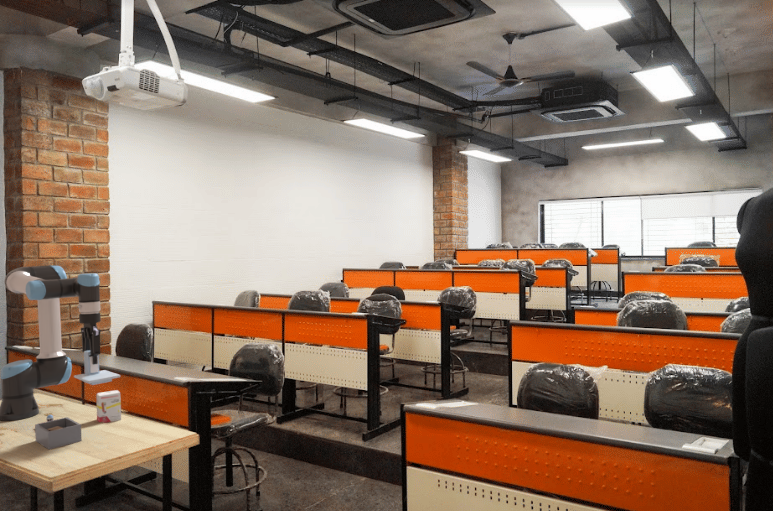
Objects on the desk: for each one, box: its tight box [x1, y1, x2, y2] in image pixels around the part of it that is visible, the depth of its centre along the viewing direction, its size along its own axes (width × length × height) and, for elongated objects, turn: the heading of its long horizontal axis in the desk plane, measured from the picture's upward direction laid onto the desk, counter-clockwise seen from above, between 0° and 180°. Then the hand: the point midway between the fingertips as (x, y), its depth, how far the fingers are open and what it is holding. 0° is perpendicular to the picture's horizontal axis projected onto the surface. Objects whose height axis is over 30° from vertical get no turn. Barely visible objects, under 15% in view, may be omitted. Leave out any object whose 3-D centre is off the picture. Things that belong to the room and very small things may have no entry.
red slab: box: [42, 414, 55, 423], centre depth 228 cm, size 8×7×6 cm
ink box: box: [96, 389, 122, 424], centre depth 238 cm, size 9×5×12 cm, turn 127°
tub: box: [34, 416, 83, 450], centre depth 212 cm, size 14×11×7 cm
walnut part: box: [47, 426, 62, 431], centre depth 214 cm, size 4×4×4 cm
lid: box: [73, 350, 121, 386], centre depth 222 cm, size 15×12×11 cm
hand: (92, 371), depth 225 cm, fingers closed on lid, 4 cm apart
